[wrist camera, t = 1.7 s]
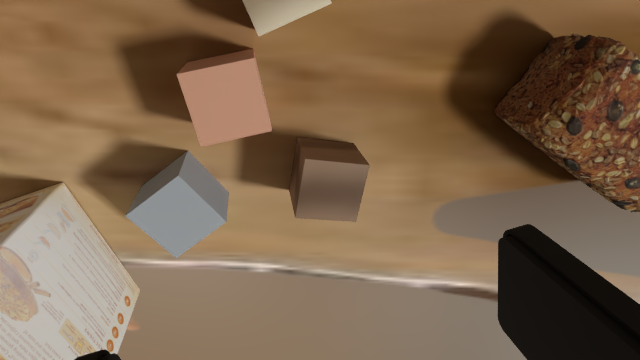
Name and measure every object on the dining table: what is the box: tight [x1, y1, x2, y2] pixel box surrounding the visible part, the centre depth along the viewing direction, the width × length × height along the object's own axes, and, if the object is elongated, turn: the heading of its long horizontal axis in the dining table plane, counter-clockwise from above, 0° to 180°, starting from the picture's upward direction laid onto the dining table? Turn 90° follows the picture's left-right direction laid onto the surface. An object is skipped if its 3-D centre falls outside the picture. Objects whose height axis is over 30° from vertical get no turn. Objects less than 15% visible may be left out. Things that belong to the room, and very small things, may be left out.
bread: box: [494, 34, 640, 212], centre depth 39 cm, size 19×11×10 cm, turn 55°
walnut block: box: [289, 137, 370, 222], centre depth 39 cm, size 6×6×6 cm
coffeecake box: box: [0, 182, 140, 360], centre depth 32 cm, size 15×7×20 cm, turn 17°
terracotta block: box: [177, 49, 272, 147], centre depth 33 cm, size 6×6×6 cm
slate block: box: [126, 151, 229, 258], centre depth 37 cm, size 6×6×6 cm
